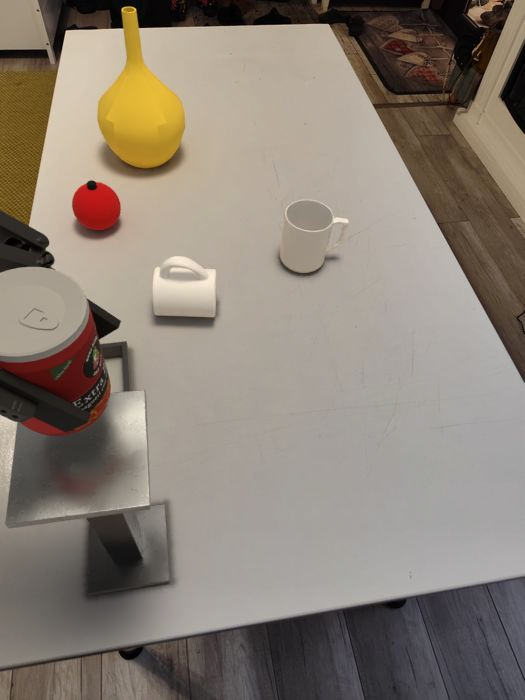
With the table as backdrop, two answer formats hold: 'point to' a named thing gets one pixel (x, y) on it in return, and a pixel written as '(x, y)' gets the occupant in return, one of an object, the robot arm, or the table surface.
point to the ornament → (96, 205)
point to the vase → (140, 108)
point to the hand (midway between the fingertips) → (94, 373)
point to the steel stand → (97, 493)
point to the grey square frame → (117, 351)
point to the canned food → (52, 341)
